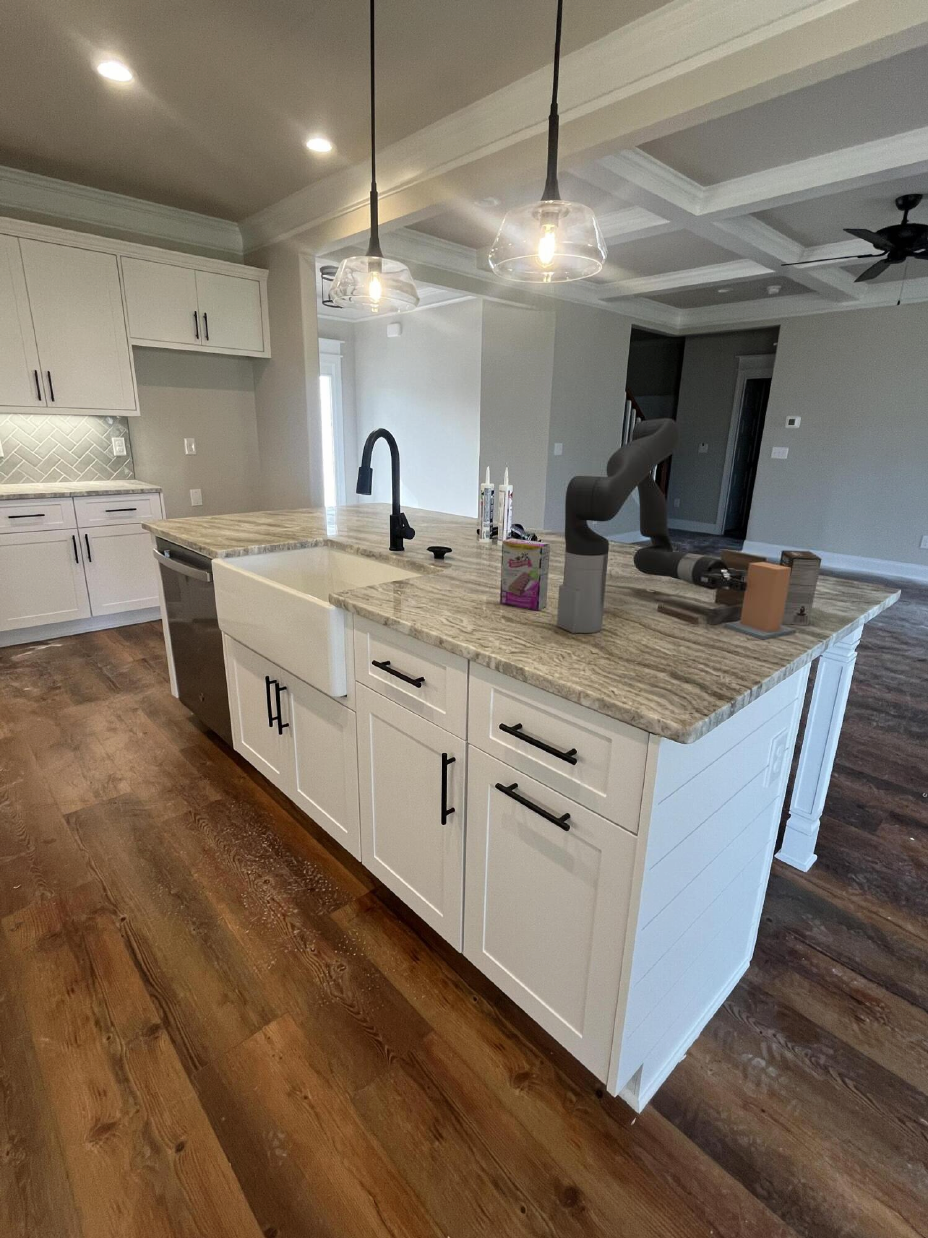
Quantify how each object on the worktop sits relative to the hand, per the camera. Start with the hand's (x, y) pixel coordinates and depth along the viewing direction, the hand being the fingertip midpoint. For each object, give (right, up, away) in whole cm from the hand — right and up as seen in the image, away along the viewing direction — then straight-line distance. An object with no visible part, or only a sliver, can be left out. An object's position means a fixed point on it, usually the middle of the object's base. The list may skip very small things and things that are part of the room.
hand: (758, 585), depth 136 cm
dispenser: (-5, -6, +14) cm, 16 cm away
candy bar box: (-51, -4, +18) cm, 54 cm away
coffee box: (+12, -8, +10) cm, 17 cm away
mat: (+1, -10, +1) cm, 10 cm away
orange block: (+1, -9, +1) cm, 9 cm away
